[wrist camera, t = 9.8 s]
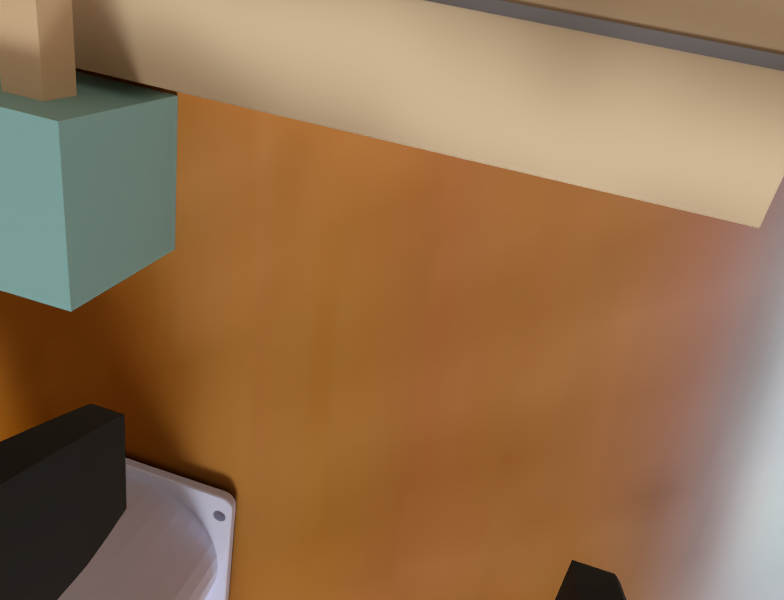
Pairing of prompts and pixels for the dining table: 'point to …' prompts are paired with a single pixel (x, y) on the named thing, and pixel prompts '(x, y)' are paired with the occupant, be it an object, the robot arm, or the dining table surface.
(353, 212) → the dining table surface
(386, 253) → the dining table surface
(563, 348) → the dining table surface
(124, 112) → the tan post teal base
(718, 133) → the board
